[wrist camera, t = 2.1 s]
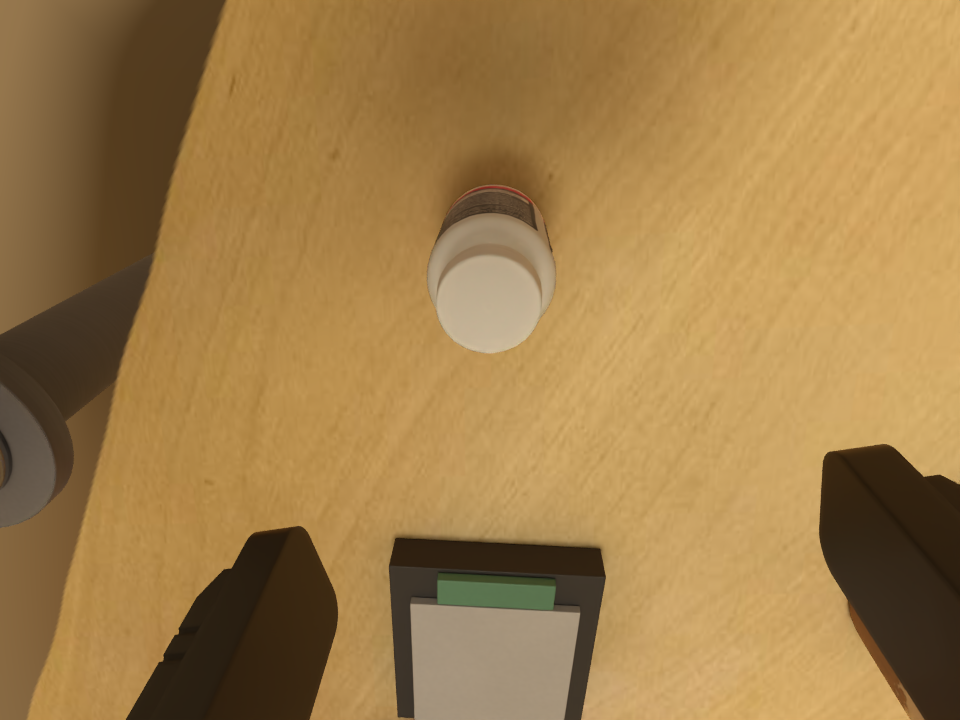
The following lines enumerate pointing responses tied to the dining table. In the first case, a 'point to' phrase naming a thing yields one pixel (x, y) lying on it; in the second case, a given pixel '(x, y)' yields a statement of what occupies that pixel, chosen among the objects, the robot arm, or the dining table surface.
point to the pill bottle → (491, 269)
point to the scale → (493, 629)
